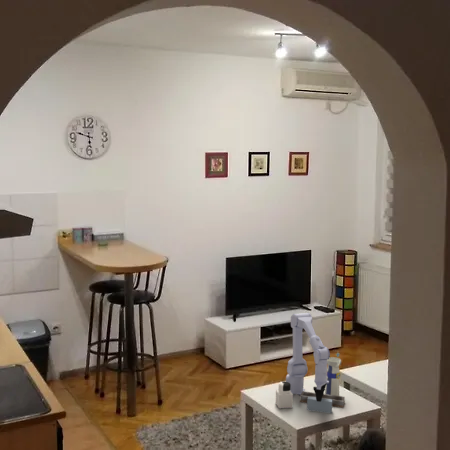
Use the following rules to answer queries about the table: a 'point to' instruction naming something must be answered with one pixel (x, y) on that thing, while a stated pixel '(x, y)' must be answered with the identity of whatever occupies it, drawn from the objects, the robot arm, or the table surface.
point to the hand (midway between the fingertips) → (319, 398)
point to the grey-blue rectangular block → (319, 405)
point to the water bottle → (333, 375)
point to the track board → (336, 400)
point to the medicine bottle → (284, 395)
